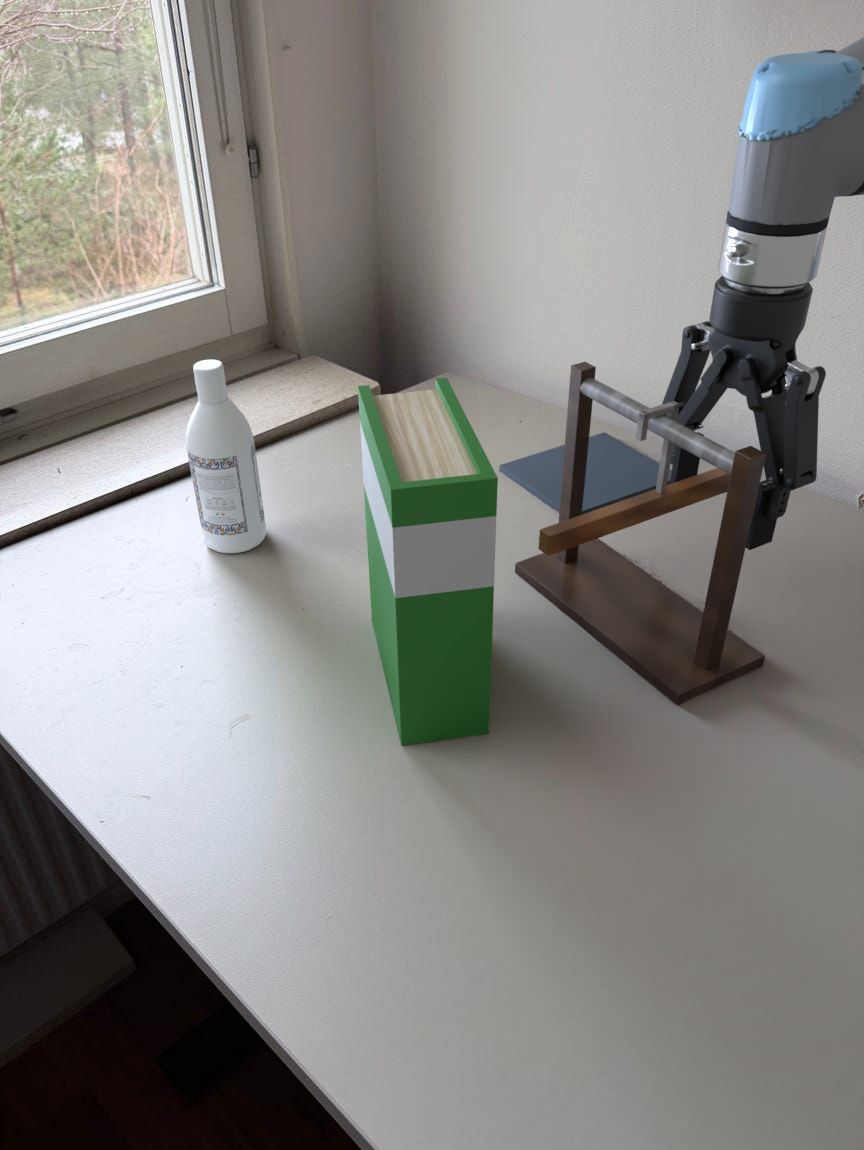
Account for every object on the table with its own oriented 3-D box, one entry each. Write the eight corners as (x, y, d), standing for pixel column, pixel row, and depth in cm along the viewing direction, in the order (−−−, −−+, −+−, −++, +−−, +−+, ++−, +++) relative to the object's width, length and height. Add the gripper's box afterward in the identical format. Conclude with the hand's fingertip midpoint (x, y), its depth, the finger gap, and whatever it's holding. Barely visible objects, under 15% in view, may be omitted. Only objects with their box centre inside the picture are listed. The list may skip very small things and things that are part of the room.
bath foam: (236, 515, 111) (209, 346, 99) (279, 534, 107) (257, 360, 95) (191, 542, 107) (157, 368, 95) (234, 562, 103) (206, 384, 91)
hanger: (730, 481, 91) (751, 374, 84) (741, 487, 90) (763, 380, 83) (538, 549, 83) (545, 437, 76) (547, 556, 82) (556, 444, 75)
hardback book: (371, 620, 94) (357, 386, 79) (446, 611, 95) (446, 377, 80) (401, 745, 80) (390, 489, 66) (488, 733, 81) (497, 477, 66)
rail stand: (592, 544, 103) (613, 347, 90) (762, 666, 86) (819, 445, 73) (514, 572, 100) (524, 371, 86) (676, 705, 83) (720, 480, 69)
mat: (604, 437, 123) (604, 431, 122) (681, 482, 113) (682, 476, 112) (498, 470, 117) (499, 464, 116) (570, 521, 107) (571, 515, 107)
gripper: (636, 254, 84) (610, 483, 98) (843, 329, 69) (778, 588, 83) (702, 239, 87) (667, 463, 101) (915, 308, 72) (840, 562, 85)
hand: (717, 520), depth 92 cm, fingers open, 9 cm apart
